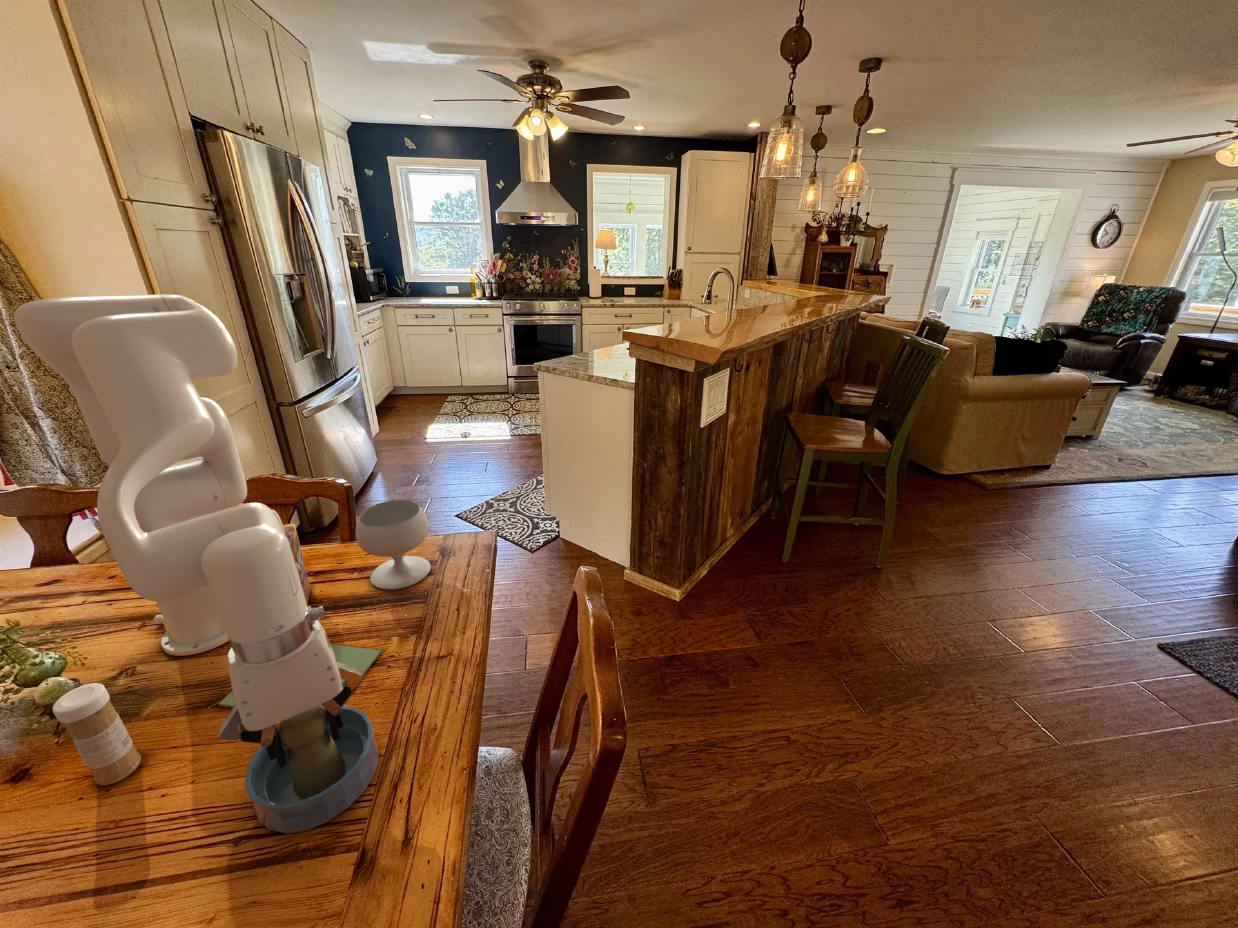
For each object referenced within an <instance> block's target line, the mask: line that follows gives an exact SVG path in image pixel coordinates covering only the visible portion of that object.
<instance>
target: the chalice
mask: <svg viewBox="0 0 1238 928" xmlns="http://www.w3.org/2000/svg"><path fill="white" fill-rule="evenodd" d="M429 525H430V524H429V520H428V517H427V515H426V513H425V511H424V510H423V509H422V507H421V506H420V505H419V504H418V503H417V502H414V501H411V500H405V499H397V500H396V499H395V500H394V499H393V500H388V501H383V502H379V503H375V504H374V505H371V506H369V507H367V508H366V509H364V510H363V511H361V513H360V515H359V516H358V518H357V521H356V525H355V540H356V544H357V545H358V547H359V548H360V549H361V550H362V552H365V553H367V554H368V555H371V556H375V557H379V558H380V557H381V558H389V557H390V558H391V559H389V560H386V561H385V562H382V563H381V564H380V565H378V566H377V567H376V568H375V569H373V571H372V572H371V574H370V578H369V580H370V583H371V584H372V586H374V587H376V588H378V589H382V590H398V589H404V588H408V587H410V586H412V585H414V584H417V583H418V582H421V581H422V580H424V579H425V578H426V577H427V575H428V574H429V573H430V571H431V567H432V566H431V563H430V561H429V560H428V559H426V558H424V557H422V556H417V555H405V554H407V553H409V552H411V551H414V550H415V549H416V548H418V547H419V546H420V545H422V543H423V542H424V541H425V540H426V539H427V538H428V535H429V531H430V526H429Z"/></svg>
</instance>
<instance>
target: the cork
mask: <svg viewBox="0 0 1238 928" xmlns="http://www.w3.org/2000/svg"><path fill="white" fill-rule="evenodd" d="M327 724H328V718H327V714H326V711H325V710H324V709H323V708H322V706H319V705H318V706H316V707H314V708H311V709H309V710H307V711H305V712H302V713H300V714H298V715H295V716H293V717H291V718H289V719H286V720H284V721H282V722H280V724H279V726H278V729H279V739H280V741H281V742H282V744H283V745H284V746H286V747H288V750H289V758H290V766H291V774H292V782H293V790H294V792H295V794H296V795H297V796H298V797H300V798H305V799H307V798H309V797H312V796H314V795H317V794H319V793H321V792H323V791H324V790H326V789H327V788H329V787H330V786H332V785H333V784H335V783H336V782H338V781H339V780H340V779H341V778H342V776H343V774H344V772H345V768H346V766H345V761H344V759H343V757H342V755H341V754H340V752H339V750H338V748H337V746H336V745H335V743H334V741H333V739H332V738H331V736H330V734H329V732H328V731H327V729H326V727H327Z"/></svg>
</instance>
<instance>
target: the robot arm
mask: <svg viewBox="0 0 1238 928" xmlns="http://www.w3.org/2000/svg"><path fill="white" fill-rule="evenodd" d="M13 320H14V323H15V326H16V328H17V331H18V332H19V335H20V336H21V337H22V339H23V340H24V342H25V343H26V344H27V345H28V347H29V348H30V349H31V350H32V351H33V352H34V353H35V354H36V355H37V356H38V357H39V358H40V359H41V360H42V361H43V362H45V363H46V365H48V366H49V367H50V368H51V369H53V370H54V371H55V373H57V374H58V375H59V376H60V377H61V378H62V379H63V380H64V381H65V383H66V384H67V385H68V386H69V387H70V389H71V391H72V393H73V395H74V396H75V400H76V402H77V405H78V407H79V410H80V411H81V415H82V417H83V419H84V421H85V424H86V426H87V429H88V431H89V433H90V436H91V438H92V440H93V443H94V446H95V448H96V449H97V452H98V453H99V455H100V457H101V459H102V460H103V461H104V462H105V464H106V465H107V466H108V469H107V471H106V472H105V474H104V475H103V478H102V481H101V483H100V485H99V486H100V487H99V489H98V493H97V503H96V504H97V505H96V510H97V519H98V523H99V526H100V529H101V532H102V535H103V537H104V539H105V541H106V543H107V545H108V547H109V548H110V551H111V553H112V555H113V557H114V559H115V561H116V563H117V565H118V567H119V570H120V571H121V573H122V575H123V577H124V579H125V581H126V582H127V583H128V586H129V587H130V588H131V590H133V592H134V593H136V595H138V596H139V597H140V598H142V599H144V600H147V601H150V602H156V604H157V605H156V606H157V607H158V609H159V613H160V614H156V615H155V616H154V617H153V619H152V620H153V622H154V623H156V624H163V626H164V628H165V632H164V633H163V635H162V637H161V639H160V646H161V648H162V650H163V652H164V653H166V654H168V655H170V656H178V657H179V656H180V657H181V656H184V657H185V656H191V655H197V654H202V653H205V652H207V651H211V650H213V649H215V648H217V647H220V646H222V645H224V644H225V643H228V642H229V644H230V647H231V648H230V649H229V651H227V652H228V653H227V667H228V674H229V678H230V684H231V688H232V691H233V693H234V697H235V701H236V704H235V706H234V707H233V708H232V709H231V710H230V711H229V713H228V715H227V716H226V718H225V719H224V721H222V722H223V723H222V724H221V726H220V727H219V730H218V734H219V735H218V736H219V739H220V740H223V741H238V740H240V741H241V742H243V743H252V744H260V747H266V749H267V752H268V755H269V757H270V760H273V759H276V758H277V760H278V763H279V766H280V768H281V767H283V766H285V764H286V763H287V760H286V753H285V746H284V745H283V744H282V742H281V741H280V739H279V726H276V725H277V724H279V723H281V722H282V721H284V720H286V719H289V718H291V717H293V716H295V715H298V714H300V713H302V712H305V711H307V710H309V709H311V708H314V707H316V706H318V705H320V704H321V705H322V706H323V707H324V708H325V710H326V714H327V718H328V722H329V725H330V729H331V732H332V735H333V739H334V740H336V741H337V740H339V739H340V735H339V731H338V729H339V728H341V727H343V726H344V725H343V722H342V718H341V714H340V712H341V711H342V708H341V707H342V706H344V705H345V703H346V702H347V701H348V699H349V698H350V696H351V695H352V691H353V690H355V689H356V688H357V686H358V685H359V684H360V683H361V682H362V680H363V679H364V675H362V672H361V670H360V669H357V668H354V667H351V666H348V665H345V664H342V663H339V662H337V661H336V658H335V655H334V652H333V649H332V647H331V644H332V643H331V641H330V639H329V637H328V634H327V632H326V630H325V628H324V627H323V625H322V624H321V622H320V621H319V620H320V619H322V618H325V617H326V613H325V610H324V606H323V605H320V606H317V607H315V606H314V607H311V605H308V602H307V603H306V600H305V596H304V593H303V589H302V586H301V582H300V579H299V575H298V572H297V568H296V565H295V561H294V558H293V554H292V551H291V548H290V544H289V542H288V539H287V537H286V536H285V530H284V526H283V525H284V524H283V521H282V519H281V517H280V515H279V514H278V512H277V511H276V510H275V509H271V508H270V507H268V505H266V504H265V503H261V502H247V503H243V502H245V500H246V499H247V496H248V485H247V480H246V476H245V473H244V469H243V465H242V462H241V458H240V454H239V449H238V447H237V443H236V440H235V439H236V438H235V435H234V432H233V429H232V426H231V423H230V421H229V418H228V416H227V415H226V413H225V411H224V410H223V408H222V407H221V406H220V405H219V404H218V403H217V402H216V401H215V400H213V399H210V398H207V397H201V396H200V394H199V393H198V391H197V388H196V387H195V385H194V383H193V380H201V379H209V378H215V377H223V376H226V375H229V374H231V373H233V372H234V371H235V370H236V368H237V366H238V352H237V347H236V345H235V342H234V340H233V338H232V335H231V334H230V332H229V331H228V330H227V328H226V326H225V325H224V324H223V323H222V321H221V320H220V319H219V318H218V317H217V316H216V315H215V314H213V313H212V312H211V311H210V310H209V309H207V308H206V307H205V306H203V305H201V304H199V303H197V302H196V301H194V300H193V299H191V298H189V297H187V296H184V295H180V294H174V293H173V294H172V293H171V294H169V293H168V294H167V293H165V294H163V293H162V294H161V293H160V294H132V295H131V294H129V295H128V294H127V295H90V296H89V295H85V296H66V297H64V296H63V297H53V298H51V297H50V298H43V299H37V300H32V301H29V302H25V303H23V304H21V305H19V306H18V307H17V308H16V309H15V311H14V316H13ZM196 458H197V459H196ZM199 458H200V459H199ZM192 459H195V460H192ZM188 460H190V461H188ZM184 461H186V462H184ZM179 462H182V463H179ZM176 463H178V464H176ZM341 679H344V682H342V681H341Z"/></svg>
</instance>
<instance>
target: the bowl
mask: <svg viewBox="0 0 1238 928" xmlns="http://www.w3.org/2000/svg"><path fill="white" fill-rule="evenodd" d="M341 708H342V711H341V712H340V714H341V718H342V722H343V725H344V726H343V727H341V728H339V729H338V731H339V735H340V739H339V740H337V741H336V740H334V739H333V735H332V732H331V729H330V725H329V722H328V724H327V727H326V729H327V731H328V732H329V734H330V736H331V738H332V739H333V741H334V743H335V745H336V746H337V748H338V750H339V752H340V754H341V755H342V757H343V759H344V761H345V766H346V768H345V772H344V774H343V776H342V778H341V779H340V780H339V781H338V782H336V783H335V784H333V785H332V786H330V787H329V788H327V789H326V790H324V791H323V792H321V793H319V794H317V795H314V796H312V797H309V798H307V799H305V798H300V797H298V796H297V795H296V794H295V792H294V790H293V782H292V774H291V766H290V758H289V750H288V747H286V746H285V753H286V760H287V763H286V764H285V766H283V767H281V768H280V766H279V763H278V760H277V758H276V759H273V760H270V757H269V755H268V752H267V749H266V747H261V746H260V747H259V748H258V749H257V751H256V752H255V754H254V755H253V757H252V758H251V761H250V763H249V764H248V767H247V769H246V774H245V781H244V786H245V789H246V792H247V795H248V798H249V800H250V803H251V805H252V808H253V809H254V812H255V815H256V817H257V820H258V822H259V823H260V824H262V825H263V826H264V827H266V828H267V829H268V830H270V831H272V832H276V833H277V832H278V833H284V834H293V833H297V832H305V831H309V830H312V829H314V828H316V827H318V826H321V825H323V824H326V823H327V822H329V821H331V820H332V819H334V818H335V817H338V815H340V814H342V812H344V811H346V810H347V809H348V808H349V807H351V806H352V805H353V804H354V803H355V801H356V800H357V799H358V798H359V797H360V796H361V795H363V793H364V792H365V790H366V789H367V788H368V786H369V784H370V782H371V781H372V779H373V777H374V776H375V773H376V769H377V765H378V762H379V749H378V743H377V739H376V736H375V731H374V727H373V724H372V721H371V720H370V718H369V717H368V716H367V715H368V714H366V713H365V712H363V711H361V710H360V709H358V708H357V707H354V706H347V705H343V706H342V707H341ZM323 709H324V710H325V708H324V707H323ZM325 711H326V710H325Z"/></svg>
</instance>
